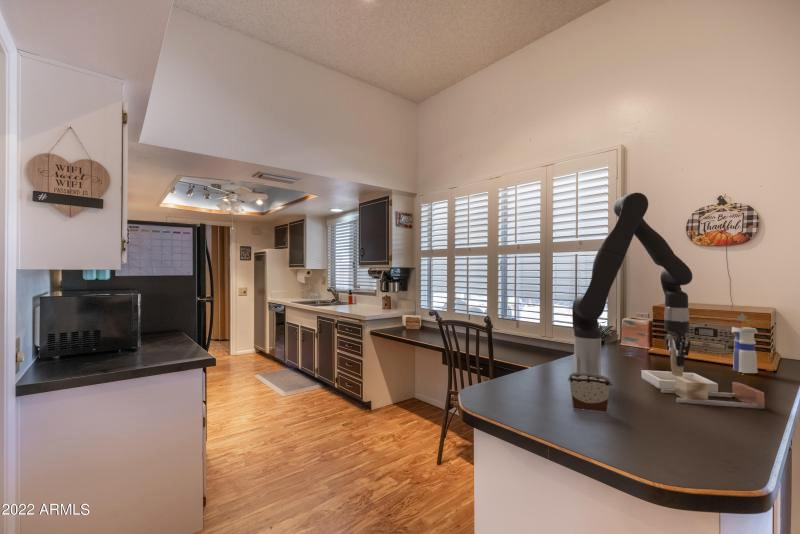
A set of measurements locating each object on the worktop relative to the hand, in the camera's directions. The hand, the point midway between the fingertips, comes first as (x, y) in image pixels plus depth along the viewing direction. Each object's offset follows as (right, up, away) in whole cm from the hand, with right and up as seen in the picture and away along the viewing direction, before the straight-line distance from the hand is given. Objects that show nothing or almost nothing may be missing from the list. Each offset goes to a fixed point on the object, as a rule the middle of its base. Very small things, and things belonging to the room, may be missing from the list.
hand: (677, 364), depth 136 cm
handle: (0, -4, 0) cm, 4 cm away
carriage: (-7, -7, -15) cm, 18 cm away
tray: (0, -8, 0) cm, 8 cm away
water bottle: (+43, -9, +18) cm, 47 cm away
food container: (-46, -7, -24) cm, 52 cm away
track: (-2, -7, -16) cm, 18 cm away
